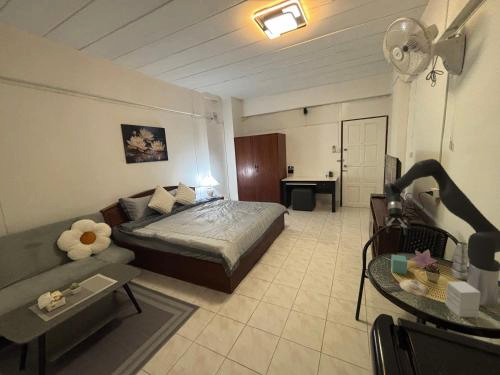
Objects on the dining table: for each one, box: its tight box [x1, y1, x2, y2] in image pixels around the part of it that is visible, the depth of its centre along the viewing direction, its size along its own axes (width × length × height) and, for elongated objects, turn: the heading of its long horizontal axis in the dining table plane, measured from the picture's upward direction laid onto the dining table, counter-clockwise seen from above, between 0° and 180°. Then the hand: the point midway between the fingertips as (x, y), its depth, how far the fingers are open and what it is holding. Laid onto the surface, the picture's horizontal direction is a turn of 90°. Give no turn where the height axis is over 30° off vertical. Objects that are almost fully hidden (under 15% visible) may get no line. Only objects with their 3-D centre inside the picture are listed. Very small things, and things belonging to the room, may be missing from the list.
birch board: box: [399, 279, 430, 296], centre depth 107 cm, size 12×12×1 cm
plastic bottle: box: [450, 241, 469, 281], centre depth 110 cm, size 6×7×20 cm
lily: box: [409, 249, 437, 270], centre depth 124 cm, size 12×12×10 cm
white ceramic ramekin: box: [409, 279, 420, 290], centre depth 106 cm, size 4×4×3 cm
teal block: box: [390, 254, 408, 275], centre depth 120 cm, size 7×7×8 cm
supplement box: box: [445, 281, 481, 320], centre depth 90 cm, size 7×7×13 cm
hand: (396, 233), depth 128 cm, fingers open, 8 cm apart
